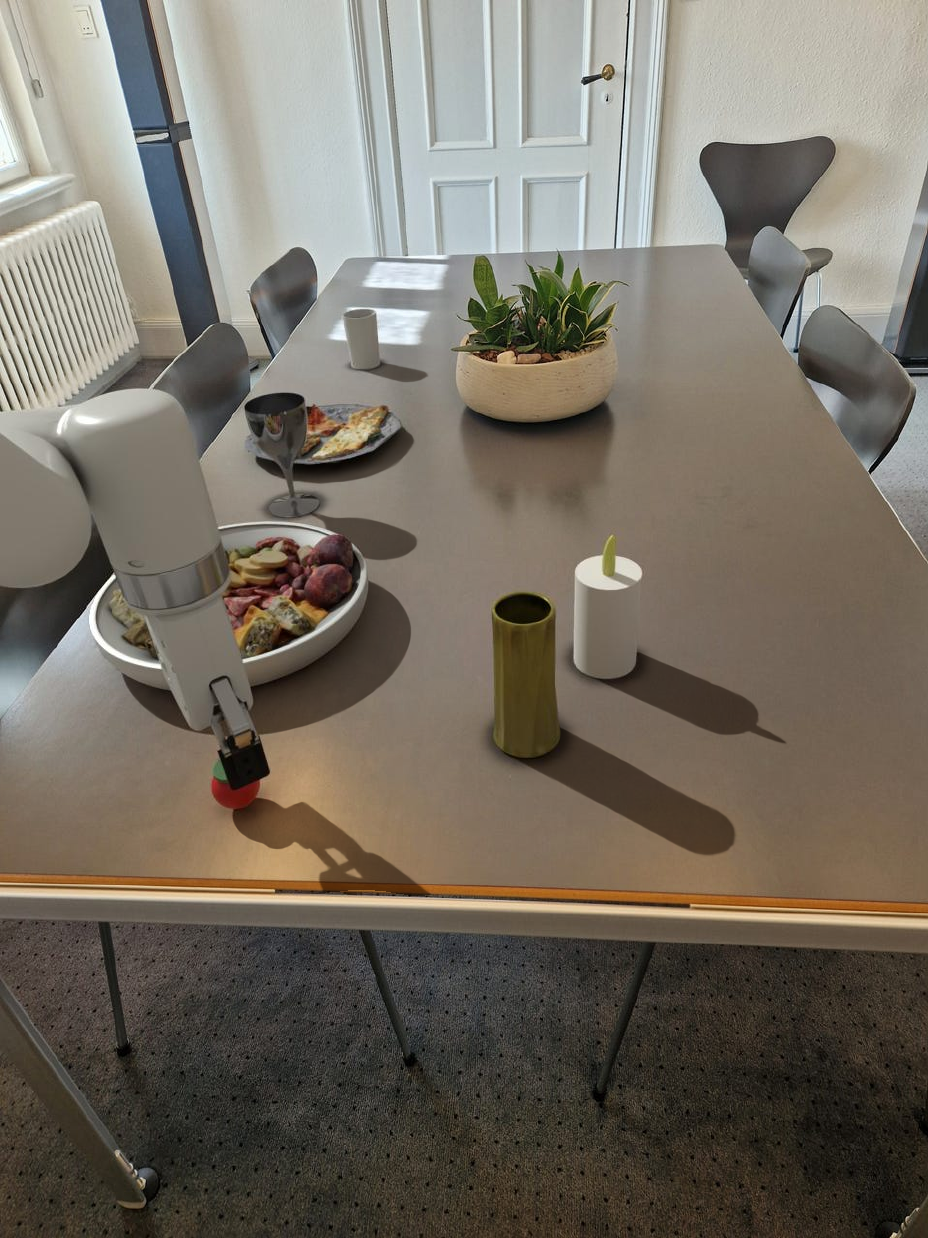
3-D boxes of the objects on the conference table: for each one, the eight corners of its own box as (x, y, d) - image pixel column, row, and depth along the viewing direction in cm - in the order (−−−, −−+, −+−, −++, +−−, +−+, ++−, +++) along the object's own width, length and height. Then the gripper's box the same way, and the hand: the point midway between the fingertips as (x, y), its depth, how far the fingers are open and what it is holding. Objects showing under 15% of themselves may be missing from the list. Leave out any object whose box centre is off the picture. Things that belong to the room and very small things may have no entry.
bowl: (119, 747, 80) (93, 682, 76) (90, 596, 103) (69, 540, 99) (412, 652, 90) (404, 589, 85) (326, 533, 113) (317, 479, 108)
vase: (552, 764, 75) (551, 633, 67) (485, 753, 77) (477, 623, 68) (566, 719, 80) (567, 591, 72) (503, 709, 81) (497, 583, 73)
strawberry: (226, 828, 71) (214, 791, 69) (212, 799, 74) (200, 762, 72) (271, 808, 73) (261, 771, 70) (255, 780, 76) (245, 743, 73)
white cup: (385, 366, 168) (379, 315, 162) (352, 372, 167) (345, 320, 161) (378, 357, 173) (372, 306, 168) (346, 362, 172) (339, 311, 166)
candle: (616, 634, 90) (622, 507, 82) (647, 669, 85) (658, 538, 76) (562, 649, 89) (563, 522, 80) (591, 685, 83) (595, 553, 75)
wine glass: (334, 499, 121) (317, 397, 112) (296, 523, 115) (276, 418, 107) (292, 488, 125) (273, 389, 116) (254, 511, 119) (231, 408, 111)
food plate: (303, 410, 151) (300, 390, 149) (422, 420, 143) (421, 400, 141) (222, 468, 132) (217, 446, 130) (354, 484, 124) (351, 461, 122)
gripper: (94, 538, 65) (159, 707, 75) (150, 648, 52) (218, 834, 62) (190, 508, 68) (240, 674, 78) (265, 605, 55) (313, 789, 65)
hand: (230, 745), depth 70 cm, fingers open, 9 cm apart
